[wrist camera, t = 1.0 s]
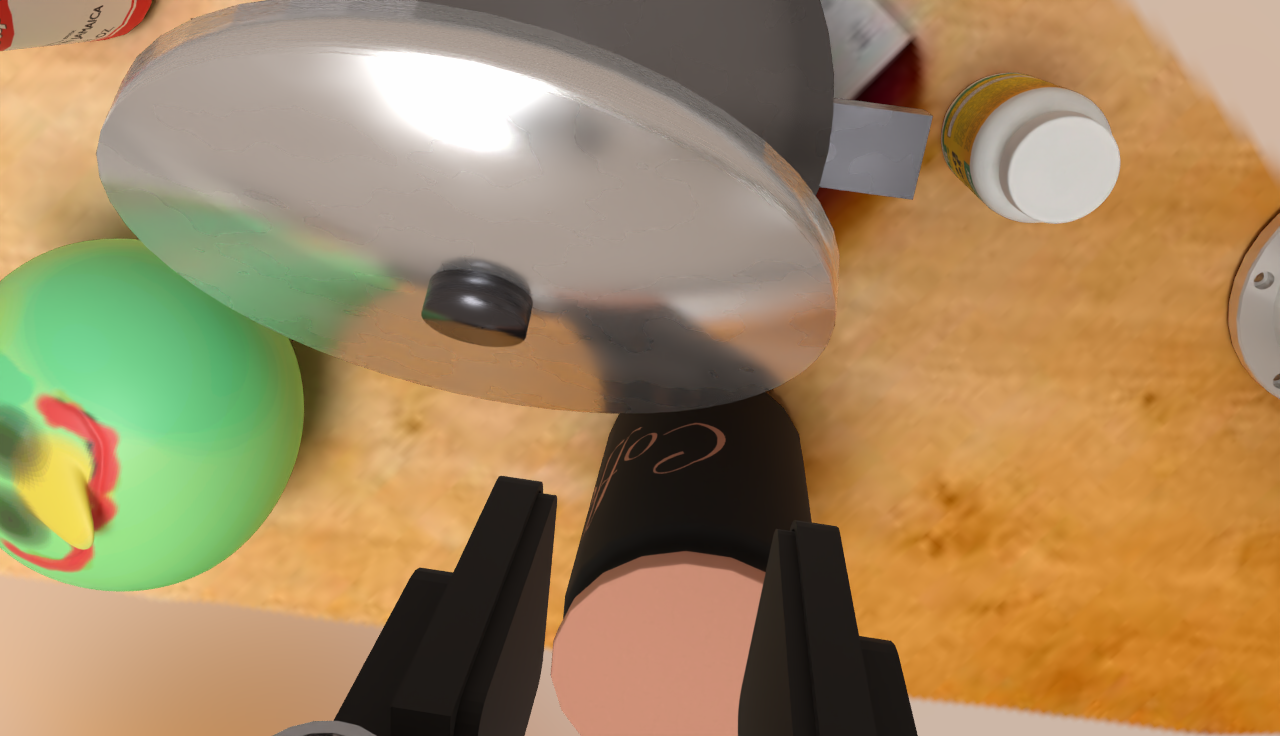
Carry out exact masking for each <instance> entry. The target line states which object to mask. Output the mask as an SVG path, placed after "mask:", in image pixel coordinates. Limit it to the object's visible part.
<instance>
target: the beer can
mask: <svg viewBox="0 0 1280 736" xmlns="http://www.w3.org/2000/svg"><path fill="white" fill-rule="evenodd" d="M151 1H152V0H0V51H5V50H14V49H24V48H33V47H43V46H52V45H61V44H71V43H80V42H89V41H99V40H106V39H110V38H114V37H117V36H121V35H124V34H127V33H128V32H129V31H130V30H132V29H133V28H134V27H135V26H137V25H138V24H139V23H140V22H142V20H143V18H144V17H145V15H146V13H147V11H148V9H149V7H150V6H151Z"/></svg>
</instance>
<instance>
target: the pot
mask: <svg viewBox="0 0 1280 736" xmlns="http://www.w3.org/2000/svg"><path fill="white" fill-rule="evenodd" d="M415 1H422V2H428V3H434V4H439V5H445V6H451V7H456V8H462V9H468V10H473V11H479V12H485V13H489V14H493V15H496V16H500V17H504V18H507V19H511V20H515V21H519V22H522V23H526V24H530V25H534V26H537V27H541V28H545V29H548V30H552V31H555V32H558V33H561V34H563V35H566V36H569V37H572V38H574V39H577V40H580V41H583V42H585V43H588V44H591V45H594V46H596V47H599V48H602V49H605V50H607V51H610V52H613V53H616V54H618V55H620V56H622V57H625V58H627V59H629V60H631V61H633V62H635V63H637V64H640V65H642V66H644V67H646V68H648V69H650V70H652V71H654V72H657V73H659V74H661V75H663V76H665V77H667V78H669V79H672V80H674V81H676V82H677V83H679V84H681V85H682V86H684V87H686V88H687V89H689V90H691V91H692V92H694V93H696V94H698V95H699V96H701V97H703V98H704V99H706V100H708V101H709V102H711V103H713V104H714V105H716V106H718V107H720V108H721V109H723V110H725V111H726V112H727V113H729V114H730V115H731V116H733V117H734V118H735V119H737V120H738V121H739V122H741V123H742V124H743V125H745V126H746V127H747V128H749V129H750V130H751V131H753V132H754V133H755V134H757V135H758V136H759V137H761V138H762V139H763V140H765V141H766V142H767V143H768V144H769V145H770V146H771V147H772V148H773V149H774V150H775V151H776V152H777V153H778V154H779V155H780V156H781V157H782V158H783V159H784V160H786V161H787V162H788V163H789V164H790V165H791V166H792V167H793V168H794V169H795V170H796V171H797V172H798V174H799V175H800V176H801V178H802V179H803V180H804V181H805V183H806V184H807V185H808V187H809V188H810V189H811V191H812V192H813V193H814V195H815V196H816V194H817V191H818V189H819V187H823V188H830V189H838V190H845V191H852V192H860V193H867V194H875V195H882V196H889V197H897V198H904V199H911V200H913V196H914V192H915V188H916V184H917V180H918V176H919V172H920V167H921V163H922V159H923V155H924V151H925V147H926V143H927V138H928V134H929V130H930V126H931V122H932V118H933V116H932V115H931V114H929V113H928V112H927V111H925V110H922V109H915V108H907V107H900V106H892V105H884V104H877V103H869V102H862V101H854V100H846V99H839V98H834V72H833V64H832V56H831V48H830V40H829V33H828V29H827V25H826V21H825V17H824V14H823V10H822V6H821V2H820V0H415ZM192 19H193V18H191V20H192Z"/></svg>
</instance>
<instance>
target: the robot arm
mask: <svg viewBox="0 0 1280 736" xmlns="http://www.w3.org/2000/svg"><path fill="white" fill-rule="evenodd" d="M1258 274H1259V275H1258ZM1257 275H1258V277H1257V278H1256V276H1257ZM1228 325H1229V330H1230V335H1231V340H1232V345H1233V347H1234V349H1235V351H1236V354H1237V356H1238V358H1239V360H1240V362H1241V364H1242V365H1243V367H1244V368H1245V369H1246V370H1247V371H1248V373H1249V374H1250V375H1251V376H1252V377H1253V379H1254V380H1255V381H1256V382H1257V383H1259V384H1260V385H1261V386H1262V387H1263V388H1265V389H1266V390H1267V391H1268V392H1270V393H1271V394H1272V395H1274V396H1276V397H1277V398H1279V399H1280V213H1279V214H1278V215H1277V216H1276V217H1275V218H1274V219H1273V220H1272V221H1271V222H1270V223H1269V224H1268V225H1267V226H1266V228H1265V229H1264V230H1263V231H1262V232H1261V233H1260V235H1259V236H1258V238H1257V239H1256V240H1255V242H1254V243H1253V245H1252V246H1251V248H1250V249H1249V251H1248V252H1247V254H1246V255H1245V257H1244V259H1243V262H1242V264H1241V266H1240V268H1239V270H1238V273H1237V275H1236V277H1235V280H1234V284H1233V288H1232V292H1231V296H1230V300H1229V322H1228ZM556 509H557V496H556V495H549V494H543V483H542V482H539V481H532V480H526V479H519V478H513V477H506V476H499V477H498V479H497V481H496V483H495V485H494V487H493V489H492V491H491V494H490V496H489V498H488V500H487V502H486V504H485V506H484V509H483V511H482V513H481V515H480V517H479V519H478V521H477V523H476V526H475V528H474V530H473V532H472V534H471V536H470V538H469V541H468V543H467V545H466V547H465V549H464V551H463V553H462V555H461V558H460V560H459V562H458V564H457V566H456V568H455V570H454V572H453V573H452V572H445V571H439V570H432V569H426V568H418V569H417V570H415V572H414V573H413V575H412V576H411V578H410V579H409V581H408V583H407V585H406V587H405V589H404V590H403V592H402V594H401V596H400V598H399V600H398V602H397V604H396V605H395V607H394V609H393V611H392V613H391V615H390V617H389V618H388V620H387V622H386V624H385V626H384V628H383V630H382V632H381V633H380V635H379V637H378V639H377V641H376V643H375V645H374V647H373V649H372V650H371V652H370V654H369V656H368V658H367V659H366V661H365V663H364V665H363V667H362V669H361V671H360V673H359V674H358V676H357V678H356V680H355V682H354V684H353V686H352V687H351V689H350V691H349V693H348V695H347V697H346V699H345V700H344V703H343V704H342V706H341V708H340V710H339V712H338V714H337V715H336V717H335V719H334V721H313V722H310V723H305V724H301V725H297V726H293V727H290V728H287V729H285V730H283V731H281V732H279V733H277V734H275V735H273V736H524V735H525V731H526V728H527V724H528V721H529V717H530V714H531V710H532V706H533V703H534V699H535V696H536V691H537V688H538V684H539V679H540V674H541V668H542V662H543V652H544V641H545V630H546V619H547V608H548V597H549V586H550V575H551V564H552V553H553V542H554V531H555V520H556ZM738 736H918V735H917V731H916V727H915V723H914V719H913V714H912V710H911V706H910V702H909V697H908V693H907V689H906V685H905V681H904V676H903V672H902V668H901V664H900V660H899V655H898V652H897V649H896V647H895V645H894V644H893V643H892V642H891V641H888V640H881V639H875V638H868V637H862V636H859V634H858V628H857V623H856V618H855V612H854V607H853V601H852V596H851V590H850V585H849V580H848V574H847V569H846V563H845V558H844V553H843V547H842V542H841V536H840V532H839V528H838V527H837V526H830V525H824V524H817V523H811V522H804V521H797V520H794V521H793V522H792V525H791V528H790V531H787V530H780V529H776V530H775V532H774V535H773V540H772V544H771V549H770V554H769V559H768V563H767V568H766V573H765V578H764V582H763V587H762V592H761V597H760V601H759V606H758V611H757V616H756V620H755V625H754V630H753V635H752V640H751V644H750V649H749V654H748V659H747V663H746V668H745V673H744V678H743V682H742V687H741V693H740V699H739V708H738Z"/></svg>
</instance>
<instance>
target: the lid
mask: <svg viewBox="0 0 1280 736" xmlns="http://www.w3.org/2000/svg"><path fill="white" fill-rule="evenodd" d="M96 155H97V162H98V169H99V176H100V179H101V182H102V184H103V186H104V189H105V191H106V193H107V196H108V198H109V200H110V202H111V204H112V205H113V207H114V208H115V209H116V211H117V212H118V214H119V215H120V217H121V218H122V220H123V221H124V223H125V224H126V225H127V226H128V227H129V229H130V230H131V231H132V232H133V233H134V234H135V235H136V236H137V237H138V238H139V239H140V241H141V242H142V243H143V244H144V245H145V246H146V247H147V248H148V249H149V250H150V251H152V252H153V253H154V254H155V255H156V256H157V257H158V258H160V259H161V260H162V261H163V262H164V263H165V264H166V265H168V266H169V267H170V268H171V269H173V270H174V271H175V272H177V273H178V274H179V275H181V276H182V277H183V278H185V279H186V280H188V281H189V282H190V283H192V284H193V285H194V286H196V287H197V288H199V289H200V290H202V291H203V292H205V293H207V294H208V295H210V296H211V297H213V298H215V299H216V300H218V301H219V302H221V303H222V304H224V305H226V306H228V307H229V308H231V309H233V310H235V311H237V312H238V313H240V314H242V315H244V316H246V317H248V318H249V319H251V320H253V321H255V322H257V323H259V324H261V325H263V326H265V327H267V328H269V329H271V330H273V331H275V332H277V333H279V334H281V335H284V336H286V337H288V338H290V339H292V340H295V341H297V342H299V343H302V344H304V345H306V346H309V347H311V348H313V349H316V350H318V351H321V352H323V353H326V354H329V355H331V356H334V357H337V358H339V359H342V360H345V361H347V362H350V363H352V364H355V365H358V366H361V367H364V368H367V369H371V370H374V371H377V372H380V373H383V374H386V375H389V376H392V377H396V378H399V379H403V380H406V381H410V382H413V383H417V384H420V385H424V386H428V387H432V388H436V389H441V390H445V391H449V392H453V393H457V394H462V395H467V396H472V397H477V398H481V399H486V400H492V401H498V402H504V403H510V404H516V405H522V406H530V407H538V408H546V409H554V410H566V411H578V412H594V413H658V412H674V411H684V410H692V409H700V408H707V407H712V406H717V405H722V404H727V403H732V402H736V401H739V400H742V399H746V398H749V397H753V396H756V395H759V394H761V393H764V392H766V391H769V390H771V389H773V388H776V387H778V386H780V385H782V384H784V383H786V382H787V381H789V380H791V379H792V378H794V377H796V376H798V375H799V374H801V373H802V372H803V371H804V370H805V369H806V368H808V367H809V366H810V365H811V364H812V363H813V362H815V361H816V360H817V358H818V357H819V356H820V354H821V353H822V351H823V350H824V349H825V347H826V346H827V345H828V343H829V340H830V337H831V334H832V331H833V329H834V326H835V317H836V304H837V292H838V279H839V251H838V247H837V243H836V238H835V234H834V230H833V228H832V226H831V224H830V221H829V219H828V217H827V215H826V213H825V211H824V209H823V207H822V205H821V203H820V201H819V200H818V199H817V197H816V196H815V195H814V193H813V192H812V191H811V189H810V188H809V187H808V185H807V184H806V183H805V181H804V180H803V179H802V178H801V176H800V175H799V174H798V172H797V171H796V170H795V169H794V168H793V167H792V166H791V165H790V164H789V163H788V162H787V161H786V160H784V159H783V158H782V157H781V156H780V155H779V154H778V153H777V152H776V151H775V150H774V149H773V148H772V147H771V146H770V145H769V144H768V143H767V142H766V141H765V140H763V139H762V138H761V137H759V136H758V135H757V134H755V133H754V132H753V131H751V130H750V129H749V128H747V127H746V126H745V125H743V124H742V123H741V122H739V121H738V120H737V119H735V118H734V117H733V116H731V115H730V114H729V113H727V112H726V111H725V110H723V109H721V108H720V107H718V106H716V105H714V104H713V103H711V102H709V101H708V100H706V99H704V98H703V97H701V96H699V95H698V94H696V93H694V92H692V91H691V90H689V89H687V88H686V87H684V86H682V85H681V84H679V83H677V82H676V81H674V80H672V79H669V78H667V77H665V76H663V75H661V74H659V73H657V72H654V71H652V70H650V69H648V68H646V67H644V66H642V65H640V64H637V63H635V62H633V61H631V60H629V59H627V58H625V57H622V56H620V55H618V54H616V53H613V52H610V51H607V50H605V49H602V48H599V47H596V46H594V45H591V44H588V43H585V42H583V41H580V40H577V39H574V38H572V37H569V36H566V35H563V34H561V33H558V32H555V31H552V30H548V29H545V28H541V27H537V26H534V25H530V24H526V23H522V22H519V21H515V20H511V19H507V18H504V17H500V16H496V15H493V14H489V13H485V12H479V11H473V10H468V9H462V8H456V7H451V6H445V5H439V4H434V3H428V2H422V1H415V0H266V1H259V2H252V3H246V4H239V5H235V6H232V7H229V8H225V9H222V10H219V11H216V12H212V13H209V14H206V15H202V16H199V17H196V18H193V19H192V20H190V21H188V22H186V23H184V24H182V25H180V26H178V27H176V28H174V29H173V30H171V31H169V32H167V33H165V34H163V35H161V36H160V37H159V38H158V39H156V40H155V41H154V42H153V43H152V44H151V45H150V46H149V47H147V48H146V49H145V50H144V51H143V52H142V53H141V54H140V55H139V56H137V58H136V59H135V61H134V62H133V64H132V66H131V67H130V69H129V71H128V72H127V74H126V76H125V77H124V79H123V81H122V83H121V85H120V88H119V90H118V92H117V94H116V97H115V99H114V101H113V104H112V106H111V108H110V111H109V113H108V115H107V118H106V120H105V122H104V124H103V127H102V129H101V133H100V138H99V143H98V148H97V153H96Z"/></svg>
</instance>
